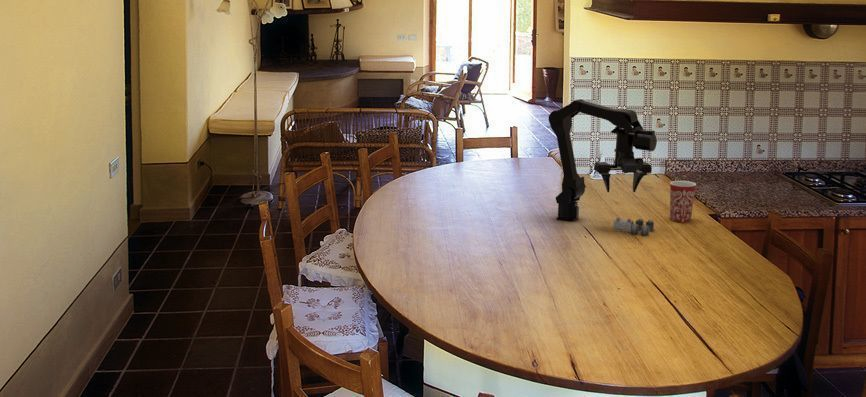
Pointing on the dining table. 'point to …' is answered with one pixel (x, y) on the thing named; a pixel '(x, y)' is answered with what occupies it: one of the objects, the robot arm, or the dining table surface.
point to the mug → (681, 200)
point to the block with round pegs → (622, 224)
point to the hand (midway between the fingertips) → (620, 192)
